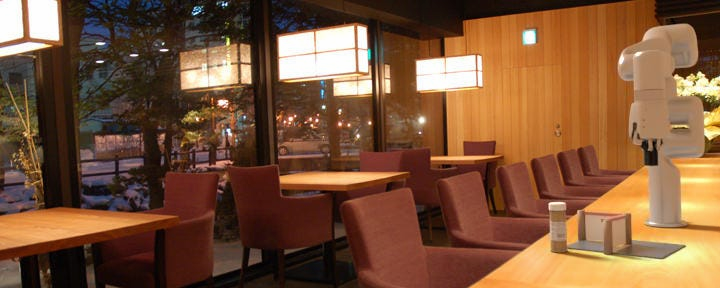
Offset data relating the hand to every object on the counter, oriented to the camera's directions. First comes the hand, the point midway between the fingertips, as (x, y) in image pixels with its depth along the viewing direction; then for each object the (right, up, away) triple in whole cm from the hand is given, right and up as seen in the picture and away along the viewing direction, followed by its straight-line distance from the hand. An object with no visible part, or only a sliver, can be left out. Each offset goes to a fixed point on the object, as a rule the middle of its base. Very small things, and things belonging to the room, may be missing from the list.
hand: (651, 165), depth 163 cm
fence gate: (-8, -22, +5) cm, 24 cm away
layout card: (-5, -23, +7) cm, 24 cm away
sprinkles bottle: (-24, -24, +4) cm, 34 cm away
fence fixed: (-12, -23, +8) cm, 27 cm away
